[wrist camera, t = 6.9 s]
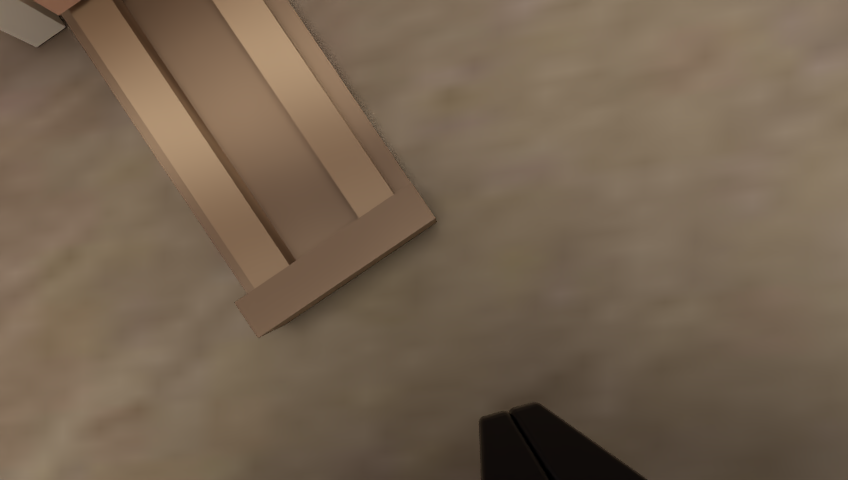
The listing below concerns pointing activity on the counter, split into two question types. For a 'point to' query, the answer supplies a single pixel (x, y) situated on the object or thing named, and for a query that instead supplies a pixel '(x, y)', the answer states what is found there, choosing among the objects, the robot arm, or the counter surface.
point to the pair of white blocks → (29, 21)
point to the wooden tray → (256, 142)
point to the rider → (57, 5)
